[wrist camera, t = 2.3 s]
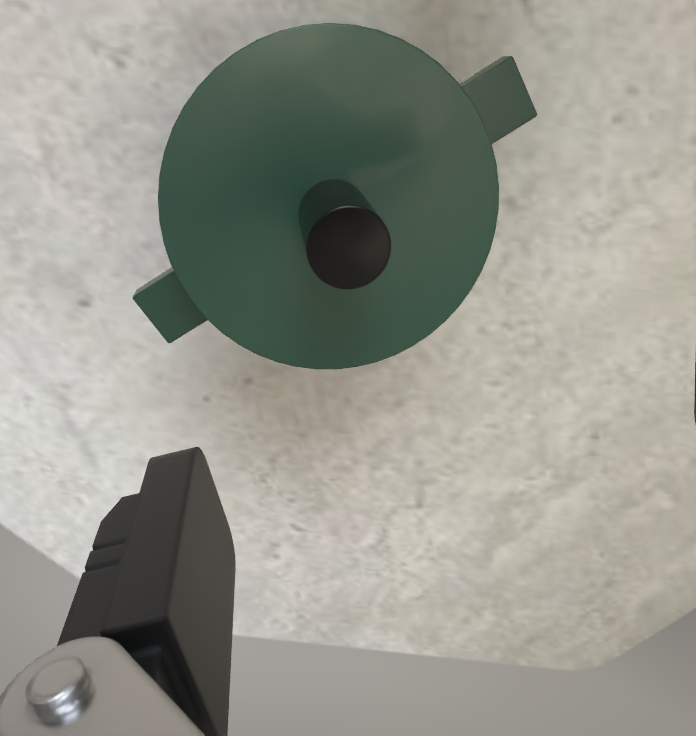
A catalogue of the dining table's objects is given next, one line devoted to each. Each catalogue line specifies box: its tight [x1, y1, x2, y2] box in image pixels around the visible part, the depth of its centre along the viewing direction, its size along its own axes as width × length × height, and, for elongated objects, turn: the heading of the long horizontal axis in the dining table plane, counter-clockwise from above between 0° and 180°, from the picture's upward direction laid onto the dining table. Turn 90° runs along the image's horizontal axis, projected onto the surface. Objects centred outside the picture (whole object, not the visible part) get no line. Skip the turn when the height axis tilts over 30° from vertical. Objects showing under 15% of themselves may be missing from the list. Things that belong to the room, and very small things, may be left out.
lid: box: [158, 23, 499, 369], centre depth 23 cm, size 13×13×6 cm
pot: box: [133, 56, 537, 343], centre depth 30 cm, size 12×17×10 cm
